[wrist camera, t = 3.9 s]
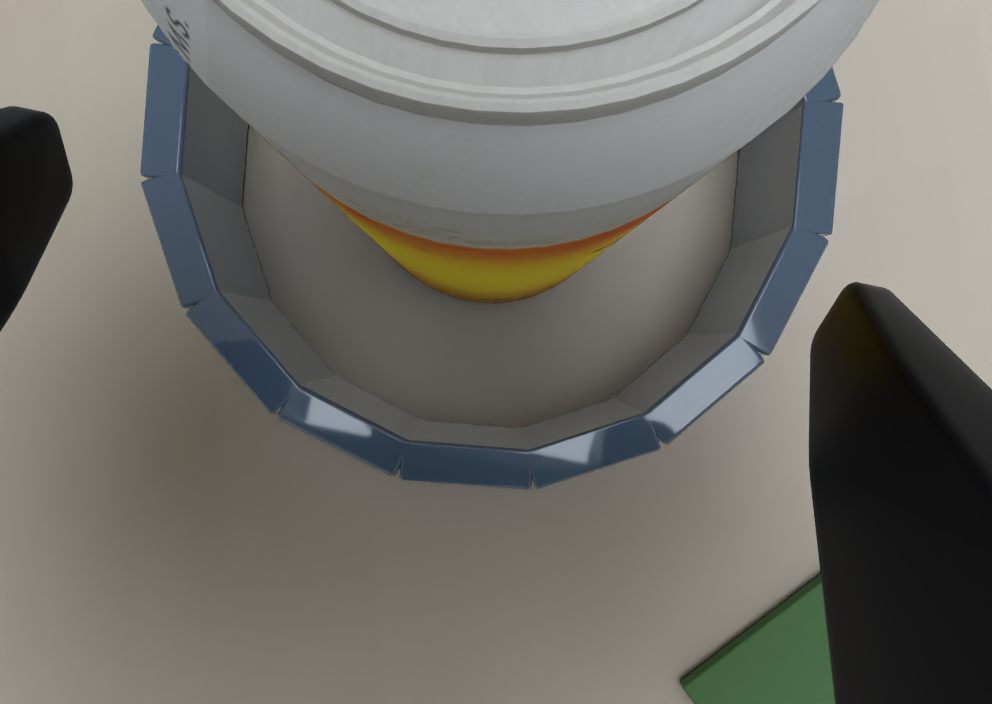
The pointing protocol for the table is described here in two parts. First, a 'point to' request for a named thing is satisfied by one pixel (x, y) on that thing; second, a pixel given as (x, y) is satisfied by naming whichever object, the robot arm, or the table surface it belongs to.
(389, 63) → the beer can
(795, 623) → the green cloth
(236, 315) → the blue round tray
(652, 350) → the table surface
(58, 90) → the table surface
